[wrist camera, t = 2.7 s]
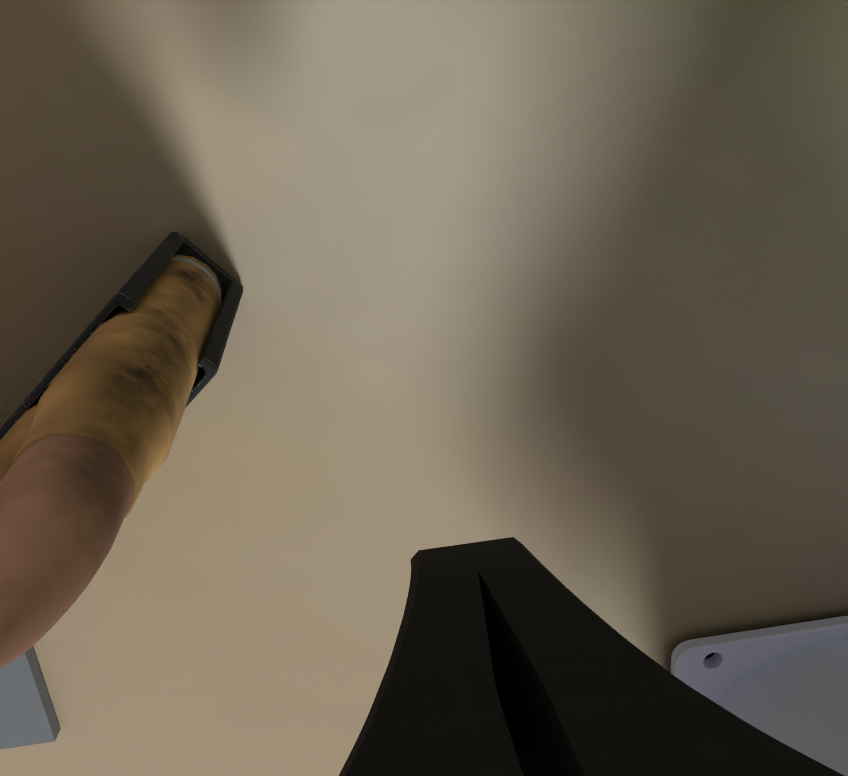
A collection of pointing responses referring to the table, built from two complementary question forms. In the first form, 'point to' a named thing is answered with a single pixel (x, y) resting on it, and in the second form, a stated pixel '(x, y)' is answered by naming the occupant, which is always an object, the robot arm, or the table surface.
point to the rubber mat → (25, 704)
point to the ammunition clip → (102, 432)
